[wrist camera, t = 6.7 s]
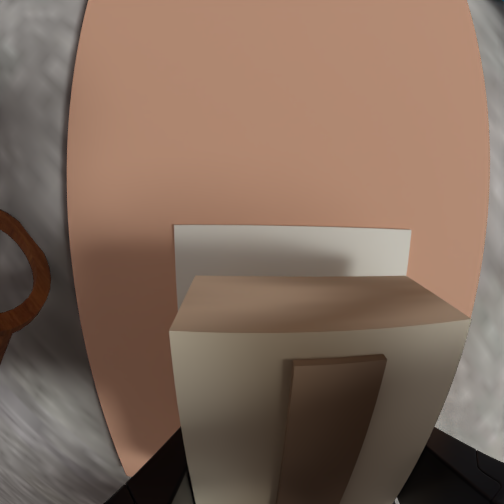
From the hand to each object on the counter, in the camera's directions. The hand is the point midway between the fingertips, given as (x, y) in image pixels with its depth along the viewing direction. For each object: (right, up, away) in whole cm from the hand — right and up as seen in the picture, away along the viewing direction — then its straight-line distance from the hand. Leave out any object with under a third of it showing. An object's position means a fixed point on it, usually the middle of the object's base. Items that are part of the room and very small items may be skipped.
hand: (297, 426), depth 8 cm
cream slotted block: (0, 0, 0) cm, 0 cm away
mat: (0, +5, +1) cm, 6 cm away
